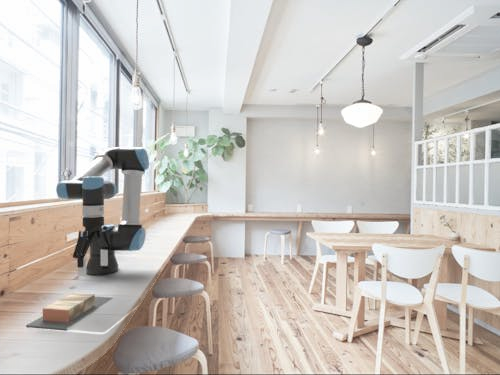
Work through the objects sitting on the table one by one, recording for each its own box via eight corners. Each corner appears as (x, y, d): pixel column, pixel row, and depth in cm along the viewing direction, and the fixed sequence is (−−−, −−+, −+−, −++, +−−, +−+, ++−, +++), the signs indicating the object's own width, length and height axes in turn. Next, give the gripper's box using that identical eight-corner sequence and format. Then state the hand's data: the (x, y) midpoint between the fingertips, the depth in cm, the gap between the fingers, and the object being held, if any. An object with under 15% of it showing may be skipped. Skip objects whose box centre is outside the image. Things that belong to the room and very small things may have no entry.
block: (72, 293, 118) (42, 308, 104) (94, 294, 117) (67, 310, 103) (72, 303, 118) (42, 320, 104) (94, 305, 117) (67, 322, 103)
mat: (81, 296, 126) (81, 295, 126) (113, 299, 124) (113, 297, 124) (26, 327, 101) (26, 325, 101) (65, 330, 99) (65, 328, 99)
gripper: (80, 220, 110) (80, 281, 110) (120, 212, 134) (120, 262, 135) (61, 220, 111) (61, 279, 111) (103, 212, 135) (104, 261, 136)
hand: (93, 270), depth 123 cm, fingers open, 13 cm apart
